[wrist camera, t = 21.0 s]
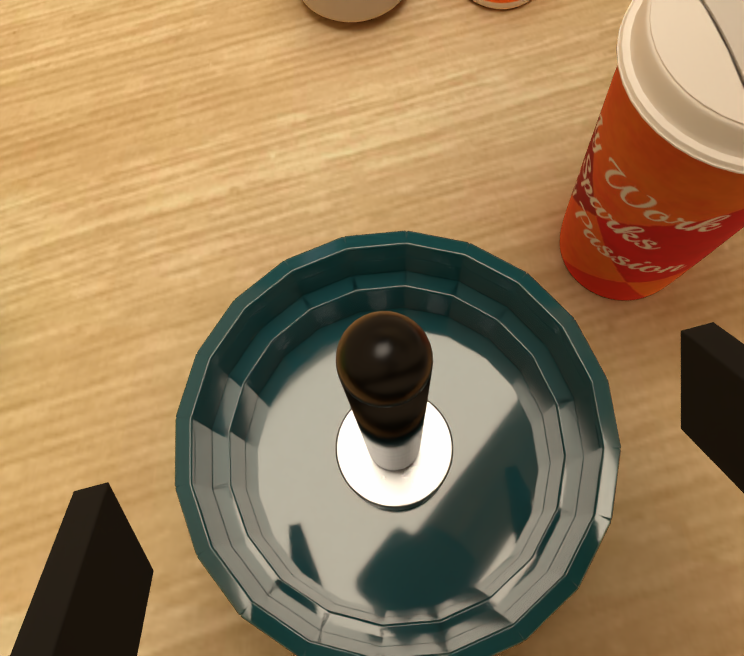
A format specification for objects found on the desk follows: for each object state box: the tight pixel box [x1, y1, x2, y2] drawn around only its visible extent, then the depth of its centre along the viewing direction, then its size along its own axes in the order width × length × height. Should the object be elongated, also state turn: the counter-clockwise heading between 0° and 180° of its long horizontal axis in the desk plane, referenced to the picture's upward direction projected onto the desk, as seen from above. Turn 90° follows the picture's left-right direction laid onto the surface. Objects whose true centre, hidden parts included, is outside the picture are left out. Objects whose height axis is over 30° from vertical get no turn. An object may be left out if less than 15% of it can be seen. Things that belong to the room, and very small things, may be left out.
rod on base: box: [336, 311, 453, 510], centre depth 20 cm, size 5×5×16 cm
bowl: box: [175, 231, 621, 656], centre depth 26 cm, size 15×15×6 cm
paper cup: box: [560, 0, 744, 300], centre depth 25 cm, size 8×8×14 cm
